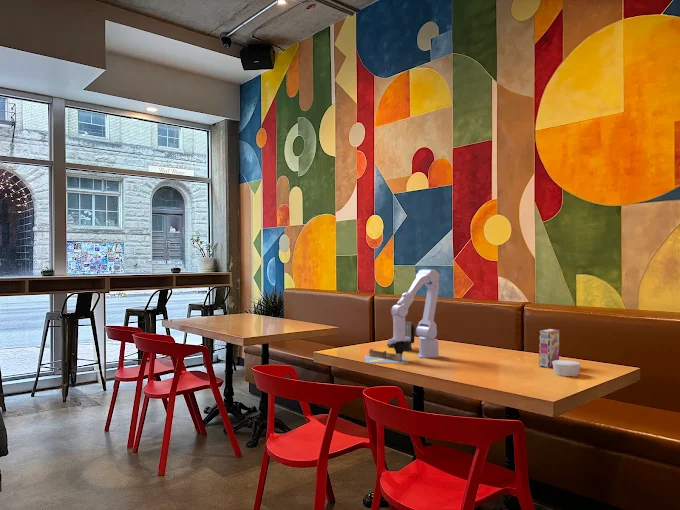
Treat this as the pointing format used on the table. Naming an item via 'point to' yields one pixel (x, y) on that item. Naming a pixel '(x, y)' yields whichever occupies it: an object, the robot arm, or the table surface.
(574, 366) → the ramekin
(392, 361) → the card
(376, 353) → the fence fixed
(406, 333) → the milk frother
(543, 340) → the candy bar box
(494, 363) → the table surface
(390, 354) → the fence swing
